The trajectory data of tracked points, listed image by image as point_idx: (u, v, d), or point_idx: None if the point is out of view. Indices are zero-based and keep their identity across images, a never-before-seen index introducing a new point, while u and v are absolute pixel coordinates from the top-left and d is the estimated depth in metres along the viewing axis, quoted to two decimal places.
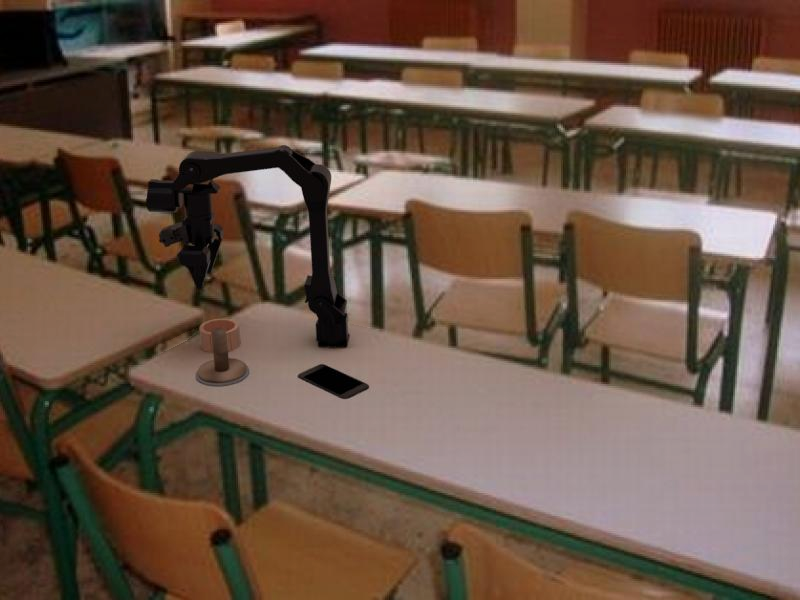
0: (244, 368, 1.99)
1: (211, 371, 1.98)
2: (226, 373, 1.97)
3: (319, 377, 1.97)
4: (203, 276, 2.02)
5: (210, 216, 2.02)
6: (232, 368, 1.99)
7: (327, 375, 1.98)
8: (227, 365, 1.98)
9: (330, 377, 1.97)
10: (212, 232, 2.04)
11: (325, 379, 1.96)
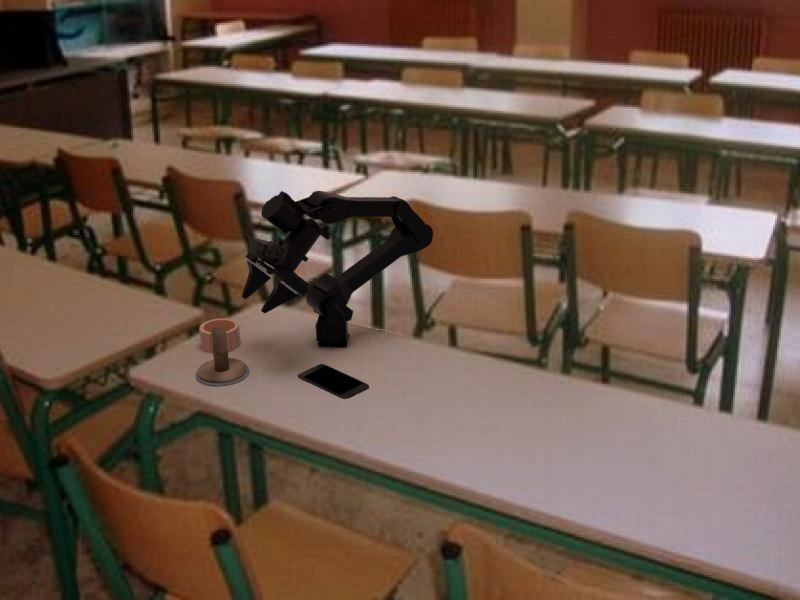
0: (244, 368, 1.99)
1: (211, 371, 1.98)
2: (226, 373, 1.97)
3: (319, 377, 1.97)
4: (279, 304, 1.95)
5: None
6: (232, 368, 1.99)
7: (327, 375, 1.98)
8: (227, 365, 1.98)
9: (330, 377, 1.97)
10: None
11: (325, 379, 1.96)
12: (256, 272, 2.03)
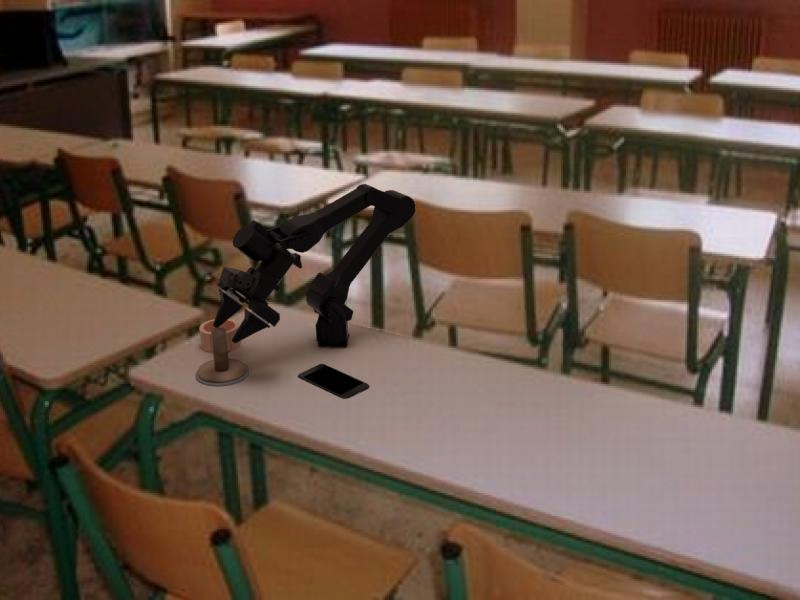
0: (244, 368, 1.99)
1: (211, 371, 1.98)
2: (226, 373, 1.97)
3: (319, 377, 1.97)
4: (250, 334, 1.94)
5: None
6: (232, 368, 1.99)
7: (327, 375, 1.98)
8: (227, 365, 1.98)
9: (330, 377, 1.97)
10: None
11: (325, 379, 1.96)
12: (228, 301, 2.01)
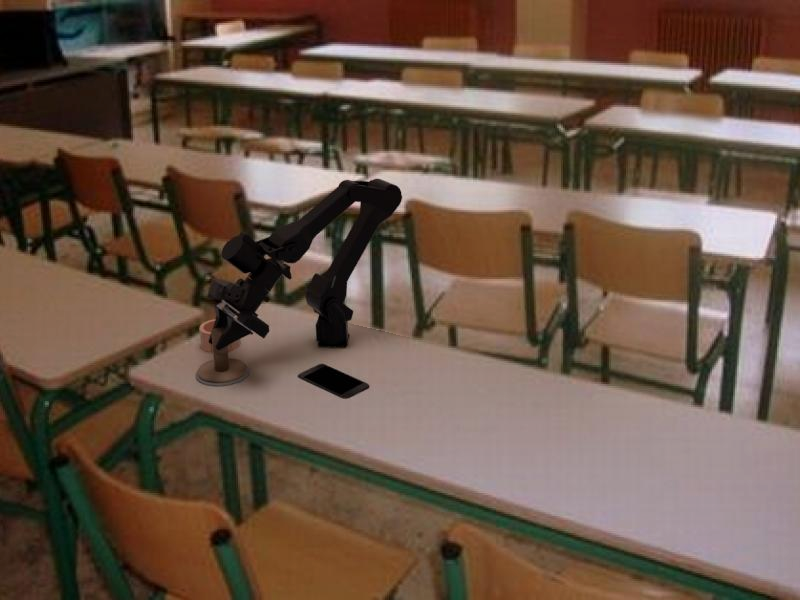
0: (244, 368, 1.99)
1: (211, 371, 1.98)
2: (226, 373, 1.97)
3: (319, 377, 1.97)
4: (233, 340, 1.95)
5: None
6: (232, 368, 1.99)
7: (327, 375, 1.98)
8: (227, 365, 1.98)
9: (330, 377, 1.97)
10: None
11: (325, 379, 1.96)
12: (224, 317, 1.98)
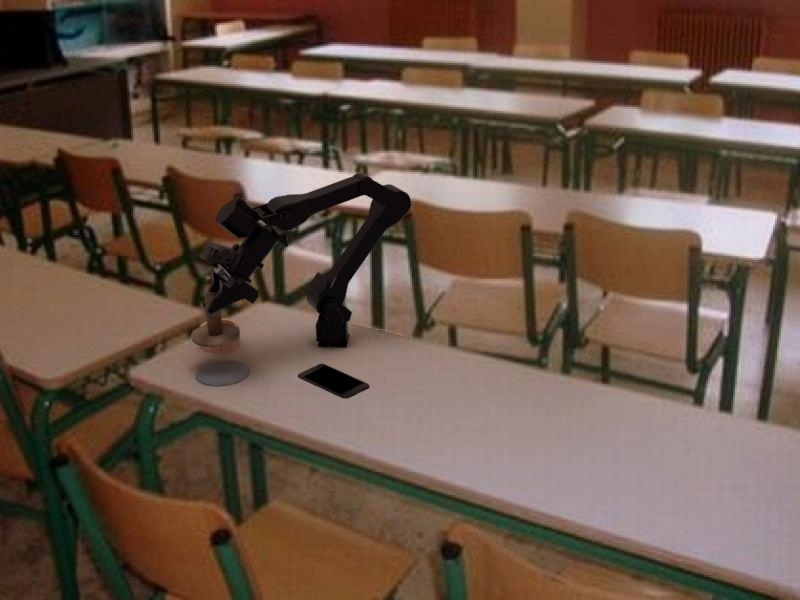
0: (237, 334, 1.99)
1: (204, 335, 1.99)
2: (218, 337, 1.98)
3: (319, 377, 1.97)
4: (225, 305, 1.96)
5: (262, 260, 1.98)
6: (225, 333, 2.00)
7: (327, 375, 1.98)
8: (220, 329, 1.99)
9: (330, 377, 1.97)
10: None
11: (325, 379, 1.96)
12: (219, 281, 1.98)
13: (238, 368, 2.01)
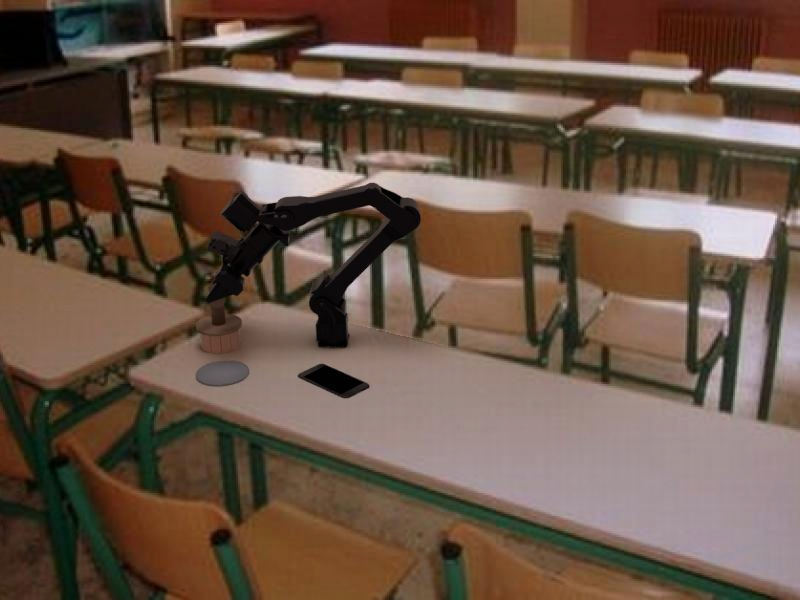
0: (234, 327, 2.08)
1: (207, 323, 2.11)
2: (216, 327, 2.08)
3: (319, 376, 1.97)
4: (221, 297, 2.03)
5: (263, 256, 2.04)
6: (226, 324, 2.10)
7: (327, 375, 1.98)
8: (220, 320, 2.09)
9: (330, 377, 1.97)
10: None
11: (325, 379, 1.96)
12: None
13: (238, 368, 2.01)
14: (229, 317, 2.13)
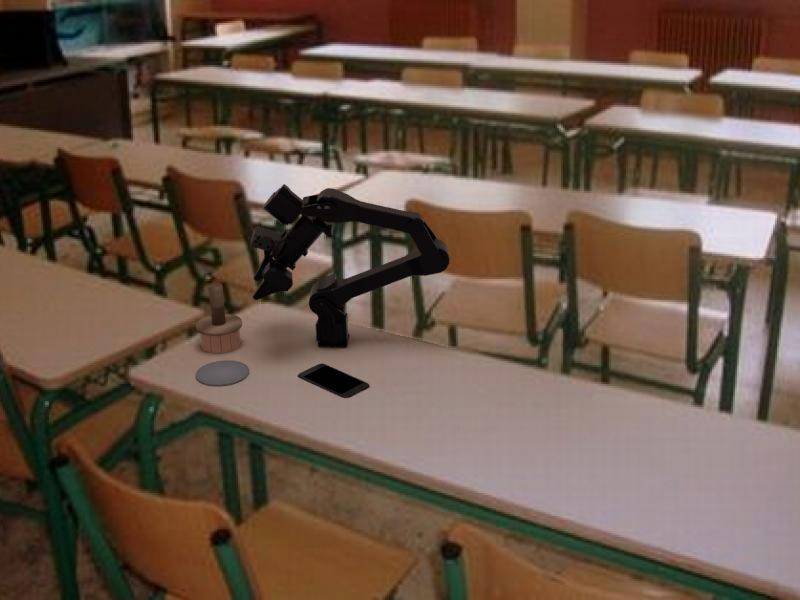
0: (234, 327, 2.08)
1: (207, 323, 2.11)
2: (216, 327, 2.08)
3: (319, 376, 1.97)
4: (268, 294, 2.03)
5: (308, 248, 2.04)
6: (226, 324, 2.10)
7: (327, 374, 1.98)
8: (220, 320, 2.09)
9: (330, 376, 1.97)
10: None
11: (325, 379, 1.96)
12: (269, 257, 2.11)
13: (238, 368, 2.01)
14: (229, 317, 2.13)
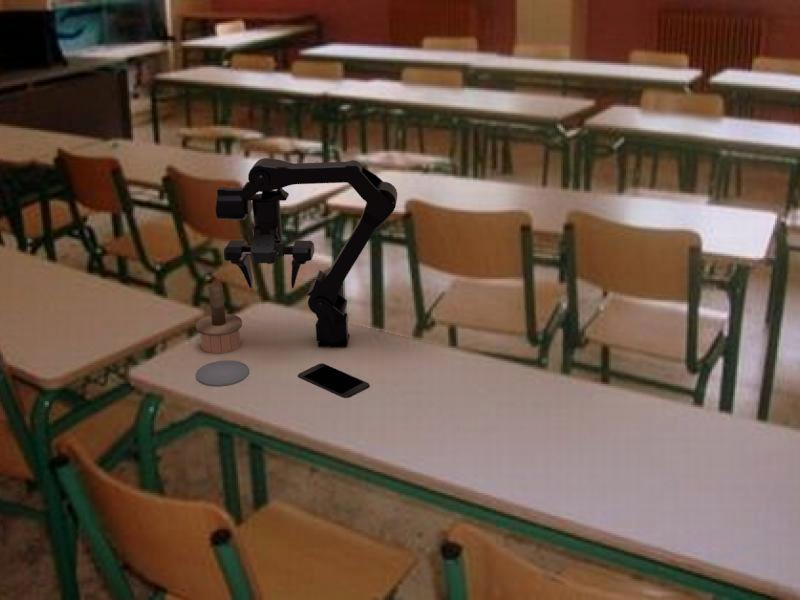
0: (234, 327, 2.08)
1: (207, 323, 2.11)
2: (216, 327, 2.08)
3: (319, 376, 1.97)
4: None
5: None
6: (226, 324, 2.10)
7: (327, 374, 1.98)
8: (220, 320, 2.09)
9: (330, 376, 1.97)
10: None
11: (325, 378, 1.96)
12: (246, 262, 2.06)
13: (238, 368, 2.01)
14: (229, 317, 2.13)
